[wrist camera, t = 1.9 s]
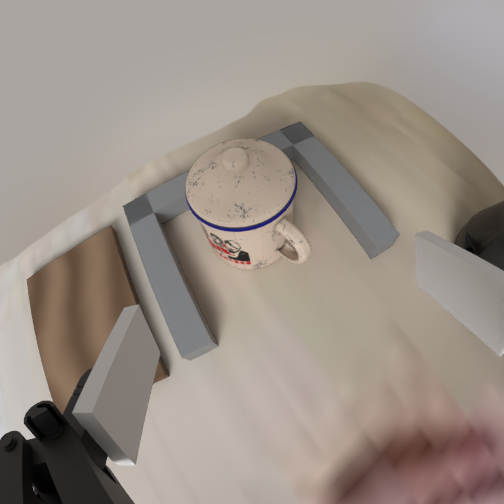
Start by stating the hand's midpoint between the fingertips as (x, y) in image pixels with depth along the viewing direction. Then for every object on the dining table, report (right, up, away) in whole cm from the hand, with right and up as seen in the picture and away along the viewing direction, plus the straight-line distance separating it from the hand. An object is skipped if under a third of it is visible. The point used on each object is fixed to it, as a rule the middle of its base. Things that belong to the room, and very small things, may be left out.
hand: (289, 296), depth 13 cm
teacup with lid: (-1, +3, +18) cm, 19 cm away
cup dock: (-1, +4, +19) cm, 19 cm away
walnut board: (-20, -6, +16) cm, 26 cm away
